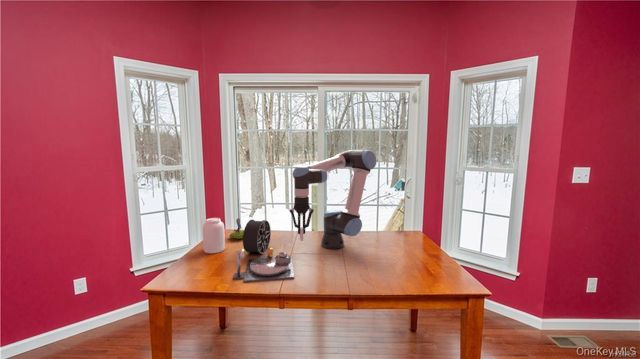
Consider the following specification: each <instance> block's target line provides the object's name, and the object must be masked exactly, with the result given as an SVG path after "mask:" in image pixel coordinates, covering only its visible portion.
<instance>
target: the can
mask: <svg viewBox="0 0 640 359" xmlns="http://www.w3.org/2000/svg"><path fill="white" fill-rule="evenodd" d="M225 233H226V232H225V224H224V222H223V221H221V218H220V217H210V218H207V219H205V223H203V225H202V244H203V252H204V253H205V254H218V253H221V252H223V251H225V249H226V240H225V238H226V237H225V236H226V235H225Z"/></svg>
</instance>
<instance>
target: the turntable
mask: <svg viewBox="0 0 640 359" xmlns="http://www.w3.org/2000/svg"><path fill="white" fill-rule="evenodd" d="M273 249H274V248H273V247H270V246H269V247H268V248H267V250H266V255H264V256H261V257H258V258H254V259H255V260H254V261H252V262H251V264H250V270H251V272H252V273H254V274H256V275H260V276H273V275H277V274H281V273H283V272H285V271H286V270H287V269H288V268H289V264H288V265H284V266H280V265H277V264H276V258H275V257H276V256H277V255H274V250H273Z"/></svg>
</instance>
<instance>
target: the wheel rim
mask: <svg viewBox="0 0 640 359" xmlns="http://www.w3.org/2000/svg"><path fill="white" fill-rule="evenodd" d="M271 230H272V228H271V225H270V222H269V221H268V220H266V219H264V220H254V219H250V220H248V221H247V223H246V224H245V227H244V230H243V231H244V233H243V238H242V246H243V250H244V252H245V253H253V252H254V253H258V254H260V255H263V254H265V253H267V248H269V247H270V246H269V245H270V241H271V235H272V234H271Z"/></svg>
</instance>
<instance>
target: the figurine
mask: <svg viewBox="0 0 640 359" xmlns="http://www.w3.org/2000/svg"><path fill="white" fill-rule="evenodd" d="M240 219H241V218H240V217H239V218H236V219H235V222H236V225H237V229H234V230H233V231H234V232H231V233H230V234H229V236H228V237H230V238H231V239H232V238H234V239H235V240H240V239H243V233H244V230H240V229H242V226H241V220H240Z"/></svg>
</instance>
